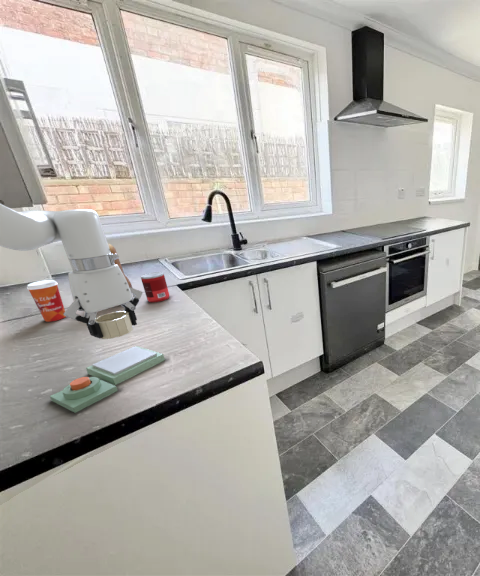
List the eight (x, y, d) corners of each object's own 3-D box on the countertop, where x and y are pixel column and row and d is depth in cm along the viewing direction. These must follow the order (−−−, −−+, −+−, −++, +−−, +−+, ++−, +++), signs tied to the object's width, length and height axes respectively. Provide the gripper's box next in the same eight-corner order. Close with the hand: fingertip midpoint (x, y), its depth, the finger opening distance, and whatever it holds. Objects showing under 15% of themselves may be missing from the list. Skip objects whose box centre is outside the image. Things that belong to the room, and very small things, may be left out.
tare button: (94, 384, 71) (91, 378, 71) (76, 392, 69) (74, 386, 68) (86, 380, 73) (84, 375, 72) (69, 388, 70) (66, 383, 69)
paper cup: (35, 324, 109) (19, 287, 104) (47, 316, 115) (33, 281, 111) (64, 320, 112) (50, 284, 107) (74, 312, 118) (61, 278, 114)
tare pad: (117, 390, 73) (114, 380, 72) (75, 413, 66) (70, 401, 65) (94, 381, 77) (90, 370, 76) (51, 401, 70) (46, 390, 69)
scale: (115, 385, 75) (112, 376, 74) (88, 374, 80) (84, 365, 79) (165, 360, 85) (162, 352, 85) (138, 351, 90) (136, 343, 89)
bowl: (109, 341, 75) (103, 324, 73) (93, 336, 78) (87, 319, 76) (139, 329, 81) (134, 313, 79) (123, 324, 83) (118, 309, 82)
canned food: (173, 295, 135) (167, 271, 131) (164, 301, 128) (157, 276, 124) (154, 296, 134) (147, 272, 130) (143, 303, 126) (136, 277, 123)
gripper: (124, 254, 82) (143, 315, 88) (34, 271, 67) (64, 343, 73) (141, 256, 79) (160, 319, 85) (52, 274, 64) (81, 349, 70)
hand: (115, 329), depth 79 cm, fingers closed on bowl, 6 cm apart
